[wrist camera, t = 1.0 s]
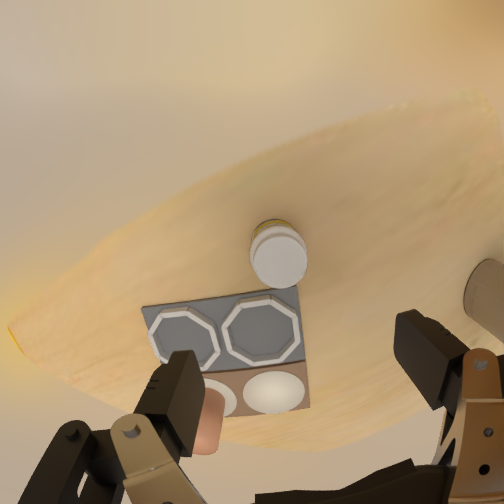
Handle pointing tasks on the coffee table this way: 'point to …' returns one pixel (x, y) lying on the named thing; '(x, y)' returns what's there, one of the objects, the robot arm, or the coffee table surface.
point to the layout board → (237, 354)
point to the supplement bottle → (278, 254)
